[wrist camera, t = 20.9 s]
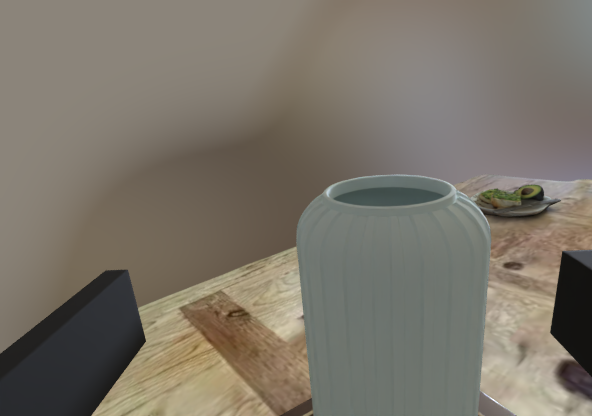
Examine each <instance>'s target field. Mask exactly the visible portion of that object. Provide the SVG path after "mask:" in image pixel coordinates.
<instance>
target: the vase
mask: <svg viewBox="0 0 592 416" xmlns="http://www.w3.org/2000/svg"><path fill="white" fill-rule="evenodd" d="M296 242H297V252H298V262H299V272H300V283H301V293H302V303H303V313H304V323H305V333H306V344H307V354H308V364H309V374H310V384H311V394H312V405H313V415H314V416H478V406H479V393H480V380H481V367H482V354H483V340H484V327H485V314H486V301H487V288H488V275H489V261H490V248H491V232H490V226H489V224H488V221H487V219H486V217H485V216H484V214H483V212H482V211H481V210H480V208H479V207H478V206H477V204H476V203H475V202H473V201H472V200H471V199H470V198H469V197H468V196H466V195H465V194H463V193H461V192H460V191H458V190H456V189H455V187H454V186H453V185H451V184H449V183H448V182H445V181H442V180H439V179H435V178H429V177H422V176H412V175H379V176H368V177H360V178H354V179H350V180H346V181H342V182H338V183H336V184H333V185H331V186H330V187H328V188H327V189H325V191H324V192H323V194H321V195H320V196H318V197H316V198H315V199H314V200H313V201H312V202H311V203H310V204H309V206H308V207H307V208H306V209H305V211H304V212H303V214H302V216H301V217H300V220H299V223H298V226H297V239H296Z"/></svg>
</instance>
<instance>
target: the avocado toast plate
mask: <svg viewBox="0 0 592 416" xmlns="http://www.w3.org/2000/svg"><path fill="white" fill-rule="evenodd" d="M470 199H471V200H472V201H473V202H475V203H476V204H477V206H478V207H479V208H480V210H481V211H482V212H483V213H485V214H492V215H498V216H505V217H509V216H529V215H535V214H538V213H540V212H542V211H543V210H544V209H545V208H547V207H548V206H550V205H553V204H555V203H557V202H559V201H561V200H560V199H551V198H549V197H547V196H544V190H543V188H542V187H541V186H539V185H526V186H523V187H520V188H519V190H516V191H515V192H511V191H504V190H499V189H494V190H493V189H492V190H487V191H482V192H479V193H478V194H476V195H474V196H473V197H471V198H470Z"/></svg>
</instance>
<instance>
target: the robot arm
mask: <svg viewBox="0 0 592 416" xmlns="http://www.w3.org/2000/svg"><path fill="white" fill-rule="evenodd" d="M550 333H551V334H552V335H553V336H554V338H555V339H556V340H557V341H558V342H559V343H560V344H561V345H562V346H563V347H564V348H565V349H566V350H567V351H568V352H569V353H570V354H571V356H572V357H573V358H574V359H575V360H576V361H577V362H578V363H579V364H580V365H581V366H582V367H583V368H584V369H585V370H586V371H587V372H588V373H589V375H590V376H591V377H592V250H577V251H562V258H561V265H560V271H559V278H558V285H557V291H556V298H555V305H554V311H553V318H552V325H551V331H550ZM145 342H146V339H145V335H144V331H143V327H142V323H141V320H140V316H139V312H138V308H137V304H136V300H135V296H134V292H133V288H132V284H131V280H130V276H129V273H128V270H110V271H109V270H108V271H105V272H104V273H102V274H101V275H100V276H98V277H97V278H96V279H94V280H93V281H92V282H91V283H90V284H88V285H87V286H86V287H84V288H83V289H82V290H81V291H79V292H78V293H77V294H75V295H74V296H73V297H72V298H70V299H69V300H68V301H67V302H65V303H64V304H63V305H62V306H60V307H59V308H58V309H56V310H55V311H54V312H53V313H51V314H50V315H49V316H48V317H46V318H45V319H44V320H43V321H41V322H40V323H39V324H37V325H36V326H35V327H34V328H33V329H31V330H30V331H29V332H27V333H26V334H25V335H24V336H22V337H21V338H20V339H18V340H17V341H16V342H15V343H13V344H12V345H11V346H10V347H8V348H7V349H6V350H5V351H3V352H2V353H1V354H0V416H91V415H92V414H93V412H94V411H95V410H96V408H97V407H98V406H99V404H100V403H101V402H102V400H103V399H104V398H105V396H106V395H107V393H108V392H109V391H110V389H111V388H112V387H113V385H114V384H115V383H116V381H117V380H118V379H119V377H120V376H121V374H122V373H123V372H124V370H125V369H126V368H127V366H128V365H129V364H130V362H131V361H132V360H133V358H134V357H135V355H136V354H137V353H138V351H139V350H140V349H141V347H142V346H143V345H144V343H145Z"/></svg>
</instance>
